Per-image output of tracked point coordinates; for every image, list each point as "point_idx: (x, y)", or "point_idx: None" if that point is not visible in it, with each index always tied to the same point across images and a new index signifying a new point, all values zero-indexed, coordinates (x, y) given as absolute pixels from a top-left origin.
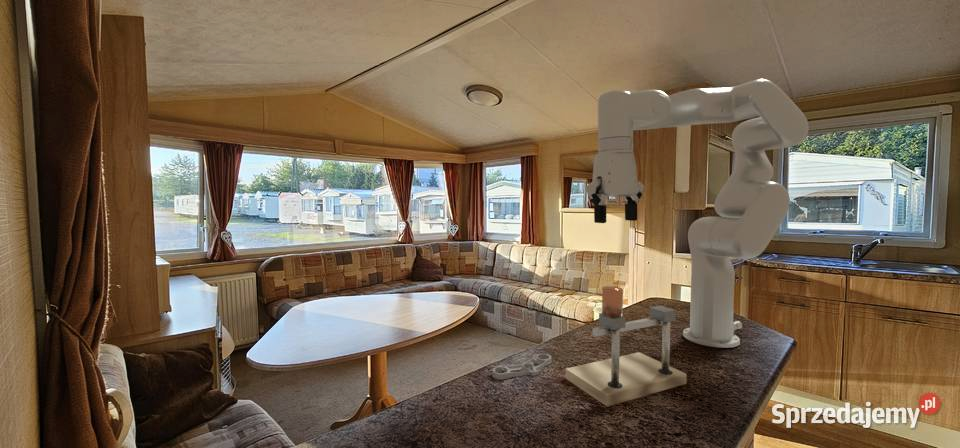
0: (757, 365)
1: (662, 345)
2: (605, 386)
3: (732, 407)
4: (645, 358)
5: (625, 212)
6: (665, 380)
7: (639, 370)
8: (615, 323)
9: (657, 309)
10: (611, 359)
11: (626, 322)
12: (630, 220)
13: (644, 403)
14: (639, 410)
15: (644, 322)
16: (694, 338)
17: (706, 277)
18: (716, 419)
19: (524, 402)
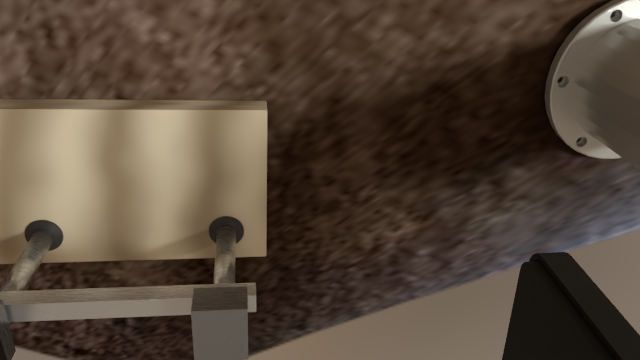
0: (514, 241)
1: (214, 270)
2: (14, 232)
3: (260, 331)
4: (247, 152)
5: (571, 332)
6: (191, 257)
7: (167, 201)
8: None
9: (195, 336)
10: (11, 270)
11: (65, 306)
12: (515, 318)
13: (98, 266)
14: (67, 281)
15: (137, 313)
16: (556, 81)
17: None
18: (191, 345)
19: None
